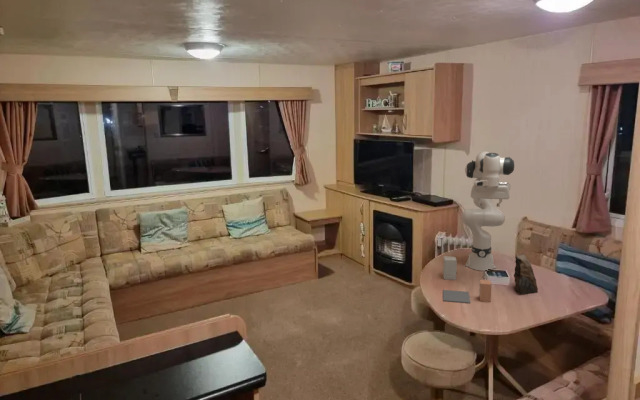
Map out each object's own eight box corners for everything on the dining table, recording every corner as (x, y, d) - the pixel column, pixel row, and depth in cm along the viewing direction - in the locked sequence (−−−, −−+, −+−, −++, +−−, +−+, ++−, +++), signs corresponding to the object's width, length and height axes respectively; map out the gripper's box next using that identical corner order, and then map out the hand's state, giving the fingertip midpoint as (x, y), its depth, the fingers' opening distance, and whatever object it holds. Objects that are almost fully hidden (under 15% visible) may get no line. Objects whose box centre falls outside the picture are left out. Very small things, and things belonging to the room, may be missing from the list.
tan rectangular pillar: (479, 296, 240) (480, 279, 238) (489, 297, 239) (490, 280, 237) (480, 300, 235) (480, 283, 233) (490, 301, 234) (491, 284, 232)
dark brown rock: (519, 295, 240) (522, 261, 236) (504, 286, 252) (506, 254, 248) (538, 292, 243) (541, 258, 239) (523, 284, 255) (525, 251, 251)
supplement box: (456, 280, 264) (457, 260, 261) (443, 279, 265) (444, 260, 263) (455, 275, 271) (455, 256, 268) (442, 275, 273) (443, 256, 270)
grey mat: (443, 290, 250) (443, 289, 249) (468, 292, 246) (468, 291, 246) (443, 301, 236) (443, 300, 236) (470, 303, 233) (470, 302, 233)
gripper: (509, 181, 242) (508, 205, 245) (471, 181, 247) (469, 204, 250) (511, 183, 236) (509, 208, 239) (471, 182, 242) (470, 207, 244)
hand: (489, 206), depth 245 cm, fingers open, 8 cm apart
